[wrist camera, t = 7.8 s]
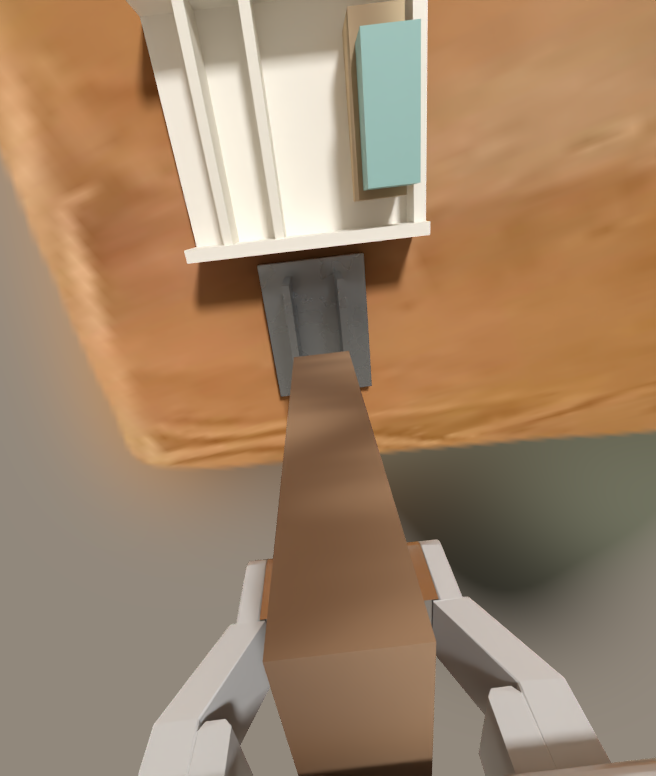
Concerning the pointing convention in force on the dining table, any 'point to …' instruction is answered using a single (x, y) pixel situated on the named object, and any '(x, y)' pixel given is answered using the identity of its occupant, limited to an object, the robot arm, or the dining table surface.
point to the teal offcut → (389, 103)
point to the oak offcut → (352, 22)
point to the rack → (269, 125)
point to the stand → (317, 312)
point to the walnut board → (345, 594)
